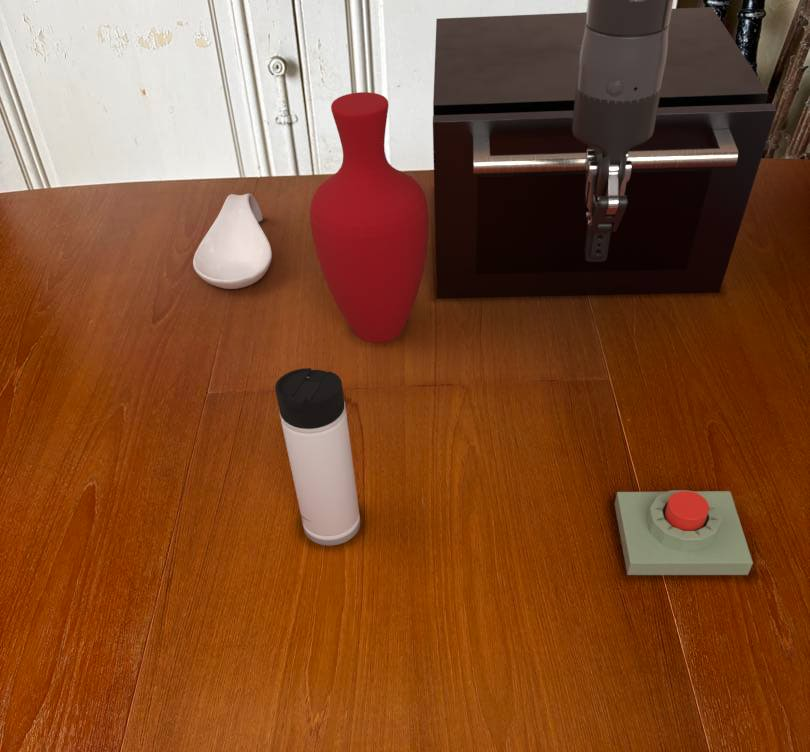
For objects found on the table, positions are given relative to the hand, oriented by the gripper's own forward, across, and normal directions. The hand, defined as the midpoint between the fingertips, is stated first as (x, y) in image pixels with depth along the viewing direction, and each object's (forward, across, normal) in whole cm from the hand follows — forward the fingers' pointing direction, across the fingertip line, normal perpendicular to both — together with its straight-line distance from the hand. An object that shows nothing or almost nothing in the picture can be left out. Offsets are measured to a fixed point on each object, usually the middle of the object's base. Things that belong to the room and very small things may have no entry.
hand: (595, 257), depth 86 cm
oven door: (+20, +22, -2) cm, 30 cm away
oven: (+20, +42, -2) cm, 46 cm away
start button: (+16, -22, -9) cm, 29 cm away
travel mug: (+20, -21, +28) cm, 40 cm away
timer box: (+20, -22, -9) cm, 31 cm away
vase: (+20, +16, +26) cm, 37 cm away
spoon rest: (+20, +36, +49) cm, 64 cm away
